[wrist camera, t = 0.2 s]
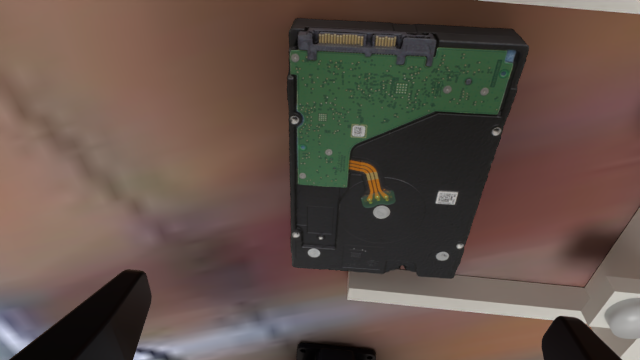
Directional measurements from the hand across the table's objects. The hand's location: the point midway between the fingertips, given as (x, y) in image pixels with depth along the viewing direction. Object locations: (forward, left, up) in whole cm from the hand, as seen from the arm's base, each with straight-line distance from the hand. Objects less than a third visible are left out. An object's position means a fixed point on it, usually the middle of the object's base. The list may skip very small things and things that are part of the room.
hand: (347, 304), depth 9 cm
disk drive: (-5, -2, -15) cm, 16 cm away
